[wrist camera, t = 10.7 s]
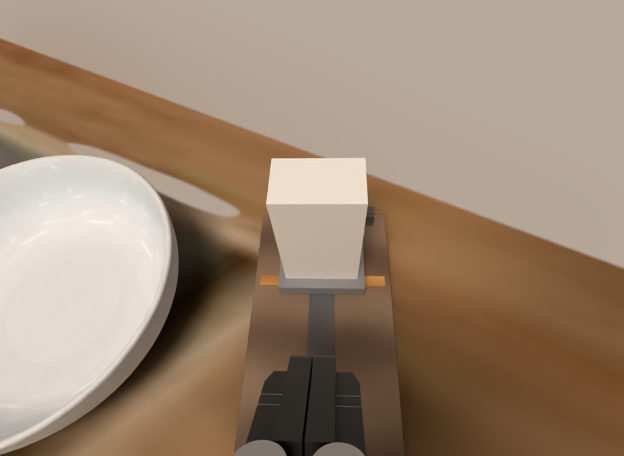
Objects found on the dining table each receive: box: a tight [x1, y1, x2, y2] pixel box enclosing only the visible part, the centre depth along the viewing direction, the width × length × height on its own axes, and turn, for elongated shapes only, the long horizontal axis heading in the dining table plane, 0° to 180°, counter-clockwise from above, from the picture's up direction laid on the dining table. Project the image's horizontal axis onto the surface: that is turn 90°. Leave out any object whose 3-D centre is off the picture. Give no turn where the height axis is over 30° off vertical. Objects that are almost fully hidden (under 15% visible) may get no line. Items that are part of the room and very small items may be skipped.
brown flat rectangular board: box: [234, 207, 405, 456], centre depth 25 cm, size 22×10×3 cm, turn 178°
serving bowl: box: [0, 155, 179, 454], centre depth 26 cm, size 21×21×7 cm
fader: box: [266, 158, 368, 295], centre depth 23 cm, size 4×6×10 cm
